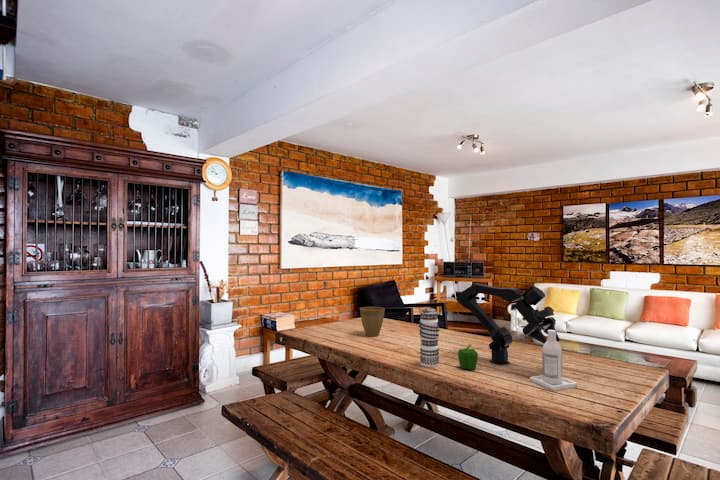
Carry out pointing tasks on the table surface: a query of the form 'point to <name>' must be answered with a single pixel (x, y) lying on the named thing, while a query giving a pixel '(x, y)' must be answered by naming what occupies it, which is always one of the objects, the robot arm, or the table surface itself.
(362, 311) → the plant pot
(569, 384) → the tray
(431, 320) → the leaning tower model
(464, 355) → the bell pepper
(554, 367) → the bath foam
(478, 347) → the table surface
